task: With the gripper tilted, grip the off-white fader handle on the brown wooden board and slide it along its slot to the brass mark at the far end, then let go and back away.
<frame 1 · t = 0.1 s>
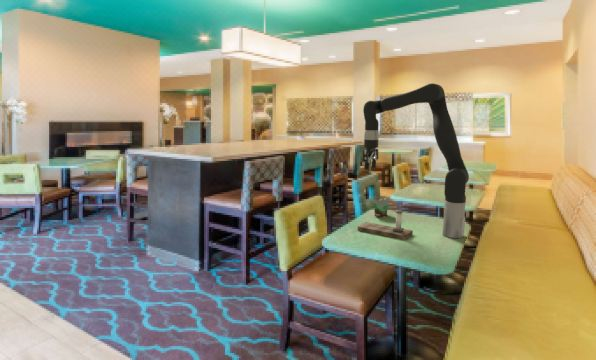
hand: (370, 168, 205), 29 cm above the table, tool pointing down, fingers open, 8 cm apart
fader: (398, 220, 184), point 7 cm above the table, slide at 0.0 cm
potted plant: (382, 216, 220), on the table
brown wooden board: (384, 232, 190), on the table
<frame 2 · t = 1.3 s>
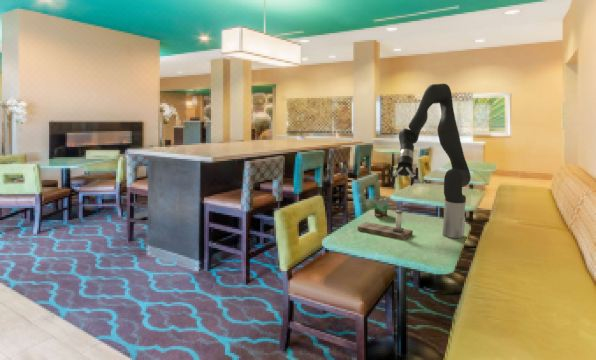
hand: (402, 184, 192), 23 cm above the table, tool tilted 45°, fingers open, 8 cm apart
nothing on the table moved.
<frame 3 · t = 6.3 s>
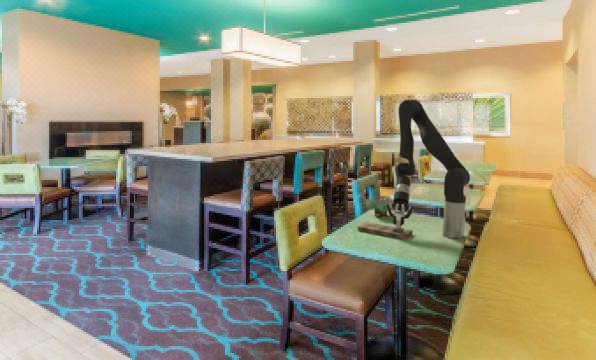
hand: (398, 224, 183), 6 cm above the table, tool tilted 45°, fingers closed on fader, 2 cm apart
fader: (398, 220, 184), point 7 cm above the table, slide at 0.0 cm, touching gripper
everything else where it was.
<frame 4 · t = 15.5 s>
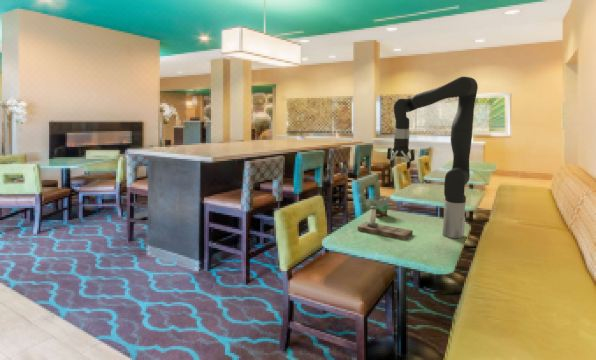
hand: (400, 168, 201), 30 cm above the table, tool pointing down, fingers open, 8 cm apart
fader: (373, 216, 192), point 7 cm above the table, slide at 13.5 cm
everything else where it was.
at the end: fader slide at 13.5 cm; the gripper is holding nothing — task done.
